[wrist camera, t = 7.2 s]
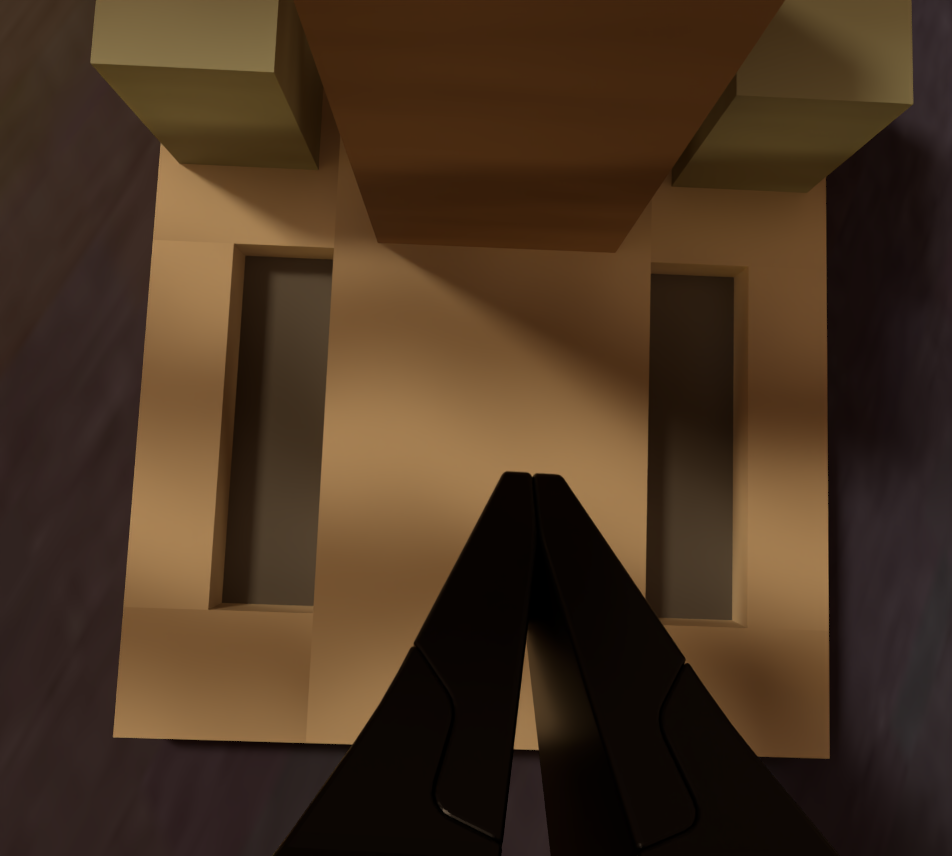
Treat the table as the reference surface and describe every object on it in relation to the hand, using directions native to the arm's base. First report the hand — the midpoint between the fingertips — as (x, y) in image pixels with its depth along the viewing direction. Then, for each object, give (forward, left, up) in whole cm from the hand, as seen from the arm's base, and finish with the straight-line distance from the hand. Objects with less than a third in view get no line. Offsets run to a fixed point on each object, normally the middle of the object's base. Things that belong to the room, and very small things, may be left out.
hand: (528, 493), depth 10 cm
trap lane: (+3, 0, -8) cm, 8 cm away
